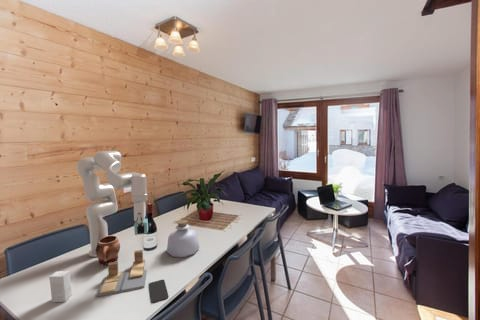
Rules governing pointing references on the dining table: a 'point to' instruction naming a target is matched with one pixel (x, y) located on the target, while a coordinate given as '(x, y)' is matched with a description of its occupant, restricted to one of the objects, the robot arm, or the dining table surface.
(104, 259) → the decorative planter
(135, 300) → the dining table surface
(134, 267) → the strip cube lane
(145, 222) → the cube
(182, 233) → the light grey vase
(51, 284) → the skincare box
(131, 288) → the lane board
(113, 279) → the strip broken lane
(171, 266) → the dining table surface
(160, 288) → the phone
